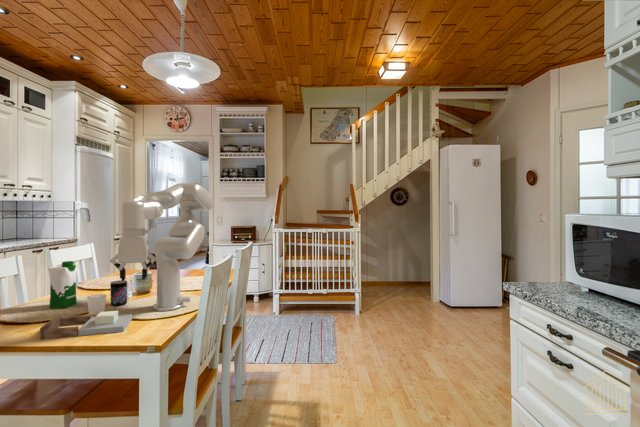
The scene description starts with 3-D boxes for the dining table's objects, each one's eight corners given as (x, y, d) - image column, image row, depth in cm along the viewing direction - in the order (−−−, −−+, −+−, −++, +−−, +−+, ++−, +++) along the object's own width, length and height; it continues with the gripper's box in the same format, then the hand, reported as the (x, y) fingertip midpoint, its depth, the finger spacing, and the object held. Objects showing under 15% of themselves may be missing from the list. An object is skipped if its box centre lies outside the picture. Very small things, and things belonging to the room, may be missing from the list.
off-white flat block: (118, 318, 129) (118, 310, 129) (113, 323, 123) (113, 315, 123) (100, 319, 127) (100, 311, 127) (95, 325, 121) (95, 317, 121)
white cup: (110, 310, 144) (110, 294, 144) (98, 315, 138) (98, 298, 137) (95, 309, 145) (95, 293, 145) (82, 314, 138) (82, 298, 138)
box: (90, 322, 130) (90, 312, 129) (77, 336, 116) (77, 324, 116) (58, 325, 126) (58, 314, 126) (40, 339, 113) (40, 327, 113)
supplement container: (107, 306, 149) (107, 283, 149) (115, 302, 156) (115, 280, 156) (122, 306, 150) (122, 283, 149) (130, 302, 156) (130, 280, 156)
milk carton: (65, 309, 145) (64, 263, 144) (45, 308, 145) (44, 263, 145) (80, 303, 154) (80, 260, 153) (61, 302, 154) (61, 259, 153)
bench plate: (132, 318, 134) (132, 314, 134) (123, 331, 121) (123, 326, 121) (91, 322, 130) (91, 317, 130) (78, 335, 116) (78, 330, 116)
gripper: (160, 232, 133) (160, 276, 134) (110, 232, 128) (110, 278, 128) (157, 233, 126) (157, 280, 127) (104, 234, 121) (104, 283, 121)
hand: (133, 279), depth 128 cm, fingers open, 6 cm apart
